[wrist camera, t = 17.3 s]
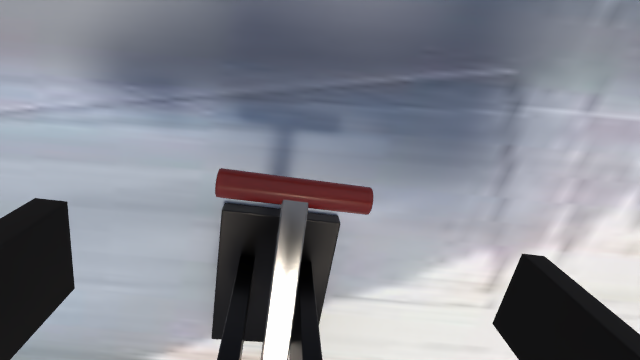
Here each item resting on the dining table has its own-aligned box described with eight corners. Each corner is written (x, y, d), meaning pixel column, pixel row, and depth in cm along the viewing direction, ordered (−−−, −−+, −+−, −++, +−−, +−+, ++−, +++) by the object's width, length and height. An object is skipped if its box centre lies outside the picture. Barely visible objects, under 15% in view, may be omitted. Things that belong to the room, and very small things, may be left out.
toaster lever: (223, 167, 15) (214, 168, 13) (363, 185, 16) (379, 189, 14) (188, 449, 16) (173, 500, 14) (327, 451, 17) (336, 499, 14)
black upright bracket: (224, 202, 24) (152, 384, 11) (338, 215, 25) (392, 393, 12) (214, 327, 28) (151, 571, 15) (313, 333, 29) (334, 565, 16)
